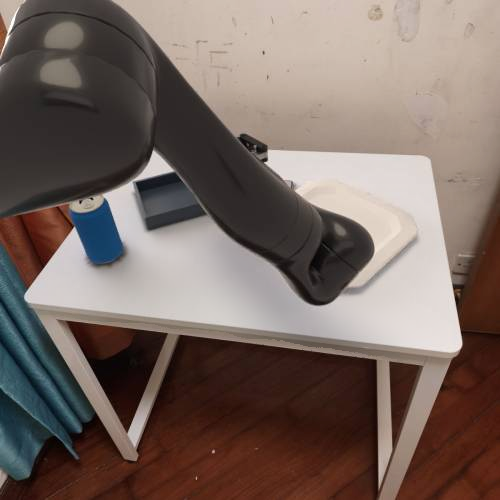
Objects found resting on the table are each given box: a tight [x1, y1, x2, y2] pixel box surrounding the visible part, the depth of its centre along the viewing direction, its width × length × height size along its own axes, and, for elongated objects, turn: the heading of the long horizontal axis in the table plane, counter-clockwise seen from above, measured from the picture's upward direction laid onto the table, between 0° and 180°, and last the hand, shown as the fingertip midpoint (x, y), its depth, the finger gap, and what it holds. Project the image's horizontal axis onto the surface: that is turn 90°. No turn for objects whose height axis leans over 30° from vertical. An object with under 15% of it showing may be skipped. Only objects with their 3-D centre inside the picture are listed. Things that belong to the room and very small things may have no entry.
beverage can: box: [68, 194, 124, 264], centre depth 78 cm, size 6×6×12 cm
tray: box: [132, 170, 207, 231], centre depth 91 cm, size 15×13×3 cm
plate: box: [294, 178, 420, 289], centre depth 82 cm, size 25×25×2 cm
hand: (199, 139), depth 71 cm, fingers closed on beverage cup, 5 cm apart
